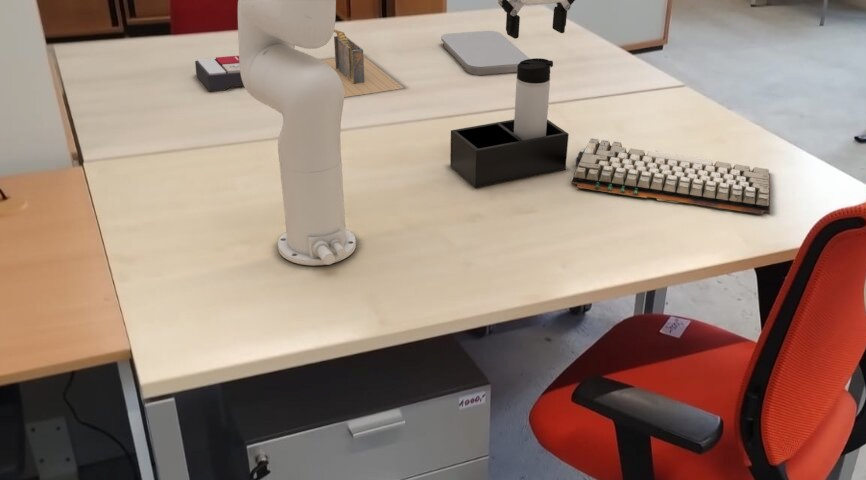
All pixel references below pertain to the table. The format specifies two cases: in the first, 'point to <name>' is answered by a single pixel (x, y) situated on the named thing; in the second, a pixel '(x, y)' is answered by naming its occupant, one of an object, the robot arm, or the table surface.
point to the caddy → (505, 153)
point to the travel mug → (532, 98)
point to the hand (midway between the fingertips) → (535, 33)
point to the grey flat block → (484, 52)
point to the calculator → (219, 72)
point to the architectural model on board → (357, 69)
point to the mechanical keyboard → (672, 178)
